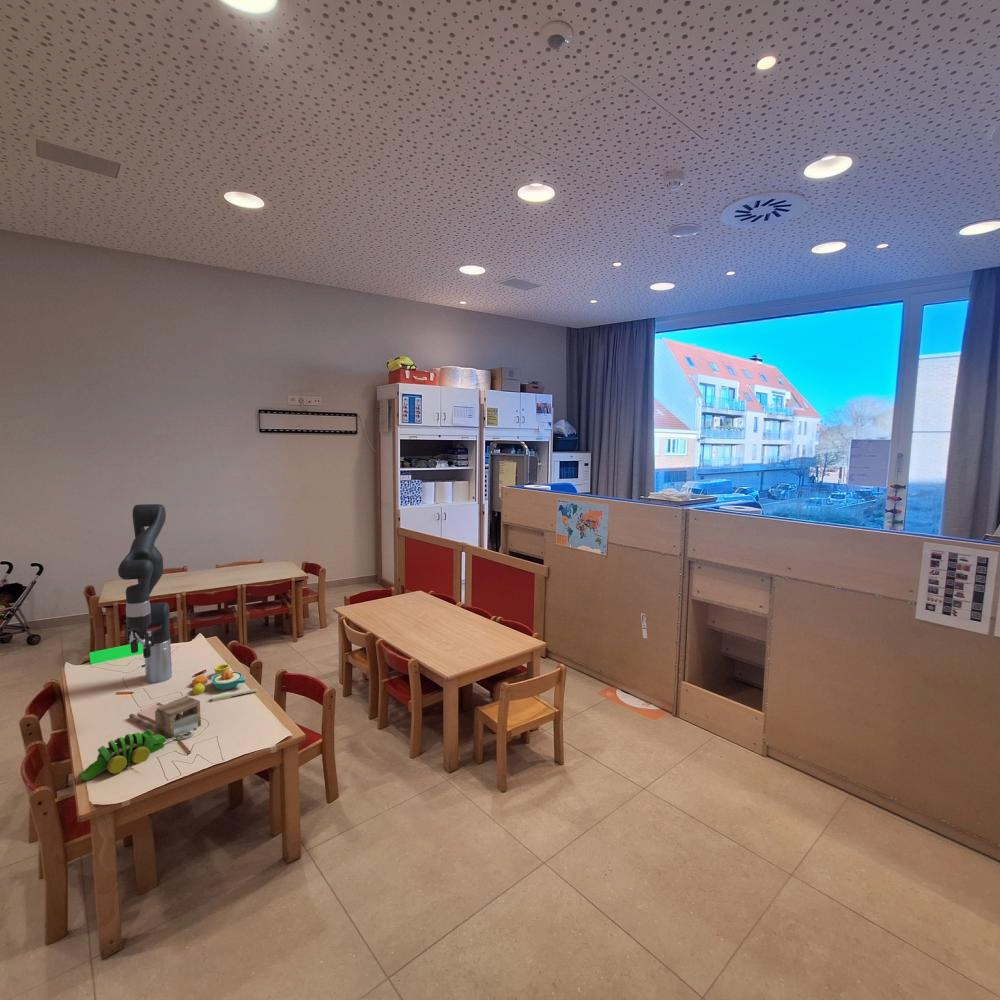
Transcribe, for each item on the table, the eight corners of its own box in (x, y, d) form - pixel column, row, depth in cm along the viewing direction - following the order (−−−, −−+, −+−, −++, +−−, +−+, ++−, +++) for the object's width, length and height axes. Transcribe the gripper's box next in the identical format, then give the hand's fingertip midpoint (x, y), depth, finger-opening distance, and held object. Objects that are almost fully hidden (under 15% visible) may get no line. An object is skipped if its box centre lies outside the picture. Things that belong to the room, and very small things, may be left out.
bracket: (142, 659, 253) (140, 644, 254) (144, 657, 246) (143, 641, 247) (89, 671, 239) (88, 655, 241) (91, 668, 232) (89, 652, 234)
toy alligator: (199, 739, 181) (198, 715, 180) (85, 787, 154) (83, 759, 154) (186, 730, 186) (185, 707, 185) (74, 775, 160) (72, 748, 159)
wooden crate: (129, 720, 192) (128, 696, 191) (159, 707, 201) (158, 684, 200) (171, 739, 180) (169, 713, 179) (200, 725, 189) (199, 701, 188)
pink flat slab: (137, 720, 192) (137, 712, 192) (157, 712, 198) (156, 704, 198) (156, 728, 187) (156, 721, 186) (176, 720, 193) (176, 712, 193)
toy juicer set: (181, 688, 218) (180, 670, 217) (226, 674, 232) (225, 657, 231) (211, 710, 200) (210, 691, 199) (258, 693, 214) (257, 675, 213)
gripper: (117, 612, 194) (119, 654, 196) (138, 619, 187) (140, 662, 189) (139, 607, 201) (141, 647, 202) (160, 613, 194) (162, 655, 196)
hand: (140, 654), depth 196 cm, fingers open, 8 cm apart
